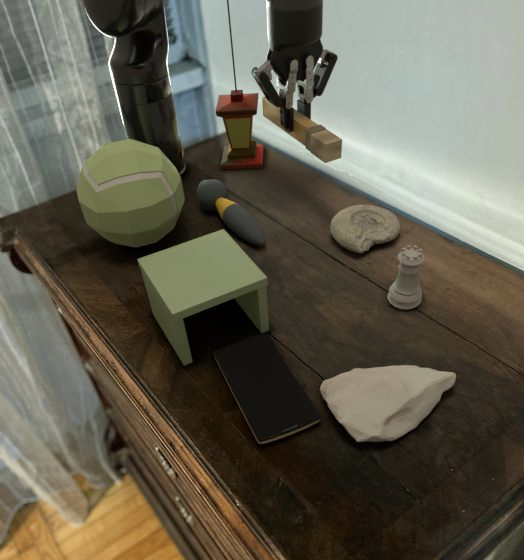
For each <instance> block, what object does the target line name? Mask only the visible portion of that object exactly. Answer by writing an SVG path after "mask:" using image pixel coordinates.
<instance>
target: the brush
mask: <svg viewBox="0 0 524 560" xmlns="http://www.w3.org/2000/svg"><path fill="white" fill-rule="evenodd" d="M261 103H262V104H261V106H262V116H263V117H264V118H265V119H267V120H268V121H269V122H270V123H272V124H274V125H275V126H276V127H278V128H279V129H281V130H282V131H283V132H284V133H286V134H288V135H289V136H290V137H291V138H293V139H294V140H296V141H297V142H298V143H300V144H301V145H303V146H304V147H305V149H306V150H307V151H309V152H310V154H312V155H313V156H314V157H316V158H317V159H318V160H320V161H321V162H323V163H324V164H327V163H330V162H333V161H337V160H339V159H341V158H342V151H343V150H342V149H343V139H342V138H341V137H339V136H338V135H336V134H335V133H333V132H332V131H330V130H329V129H328V128H327V127H325V126H324V125H322V124H320V123H319V124H318V123H317V122H316V121H314V120H312V118H311V119H309V118H308V117H306V116H304V115H303V114H301V113H300V112H298V111H297V109H296V108H294V119H293V124H294V130H293V132H287V131H286V130H285V129H284V128H283V127H282V126H281V124H280V107H278V108H277V107H276V106H274V105H273V104H271V103H270V102H268V100H267V99H266V97H265V96H262V97H261Z"/></svg>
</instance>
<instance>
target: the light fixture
mask: <svg viewBox="0 0 524 560" xmlns="http://www.w3.org/2000/svg"><path fill="white" fill-rule="evenodd" d="M229 1H230V0H226V6H227V7H226V8H227V17H228V26H229V27H228V28H229V29H228V30H229V39H230V49H231V58H232V59H231V60H232V67H233V69H232V71H233V79H234V89H231V90H230V94H219V95H218V97H217V98H218V99H217V103H216V107H215V115H216V117H219V118H221V119H222V121H223V126H224V129H225V132H226V136H227V140H228V145H226V146H223V151H222V156H221V162H220V170H241V169H242V170H243V169H262V168H263V163H264V149H265V148H264V144H257V141H255V140H252V139H253V122H254V116H256V115H257V114H258V107H259V106H258V105H259V92H251V93H244V89H238V88H237V87H238V86H237V78H236V77H237V76H236V65H235V57H234V56H235V55H234V46H233V45H234V44H233V35H232V24H231V23H232V22H231V13H230V3H229Z"/></svg>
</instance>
